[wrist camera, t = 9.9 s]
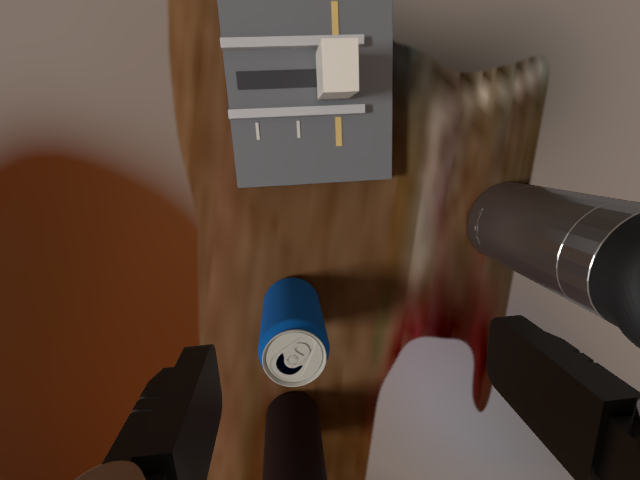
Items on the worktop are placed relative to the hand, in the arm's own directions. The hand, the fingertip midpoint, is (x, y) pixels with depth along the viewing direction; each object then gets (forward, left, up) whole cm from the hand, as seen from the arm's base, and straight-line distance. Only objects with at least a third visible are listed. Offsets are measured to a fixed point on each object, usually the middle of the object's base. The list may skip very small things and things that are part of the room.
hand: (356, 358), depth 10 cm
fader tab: (-4, -12, -27) cm, 30 cm away
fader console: (-2, -11, -30) cm, 32 cm away
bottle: (+3, +28, -30) cm, 41 cm away
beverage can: (+2, +12, -30) cm, 33 cm away
